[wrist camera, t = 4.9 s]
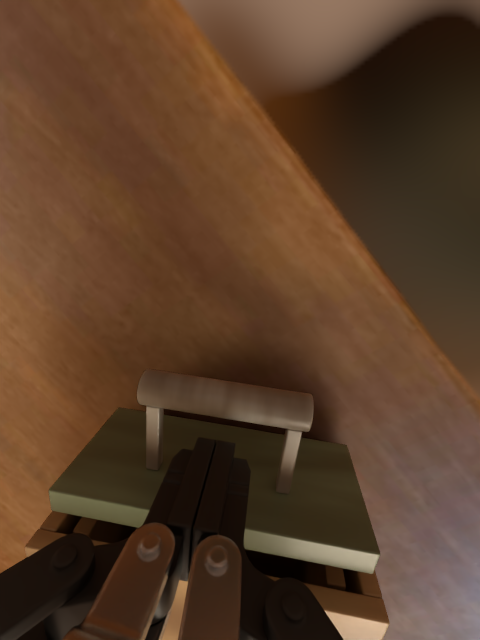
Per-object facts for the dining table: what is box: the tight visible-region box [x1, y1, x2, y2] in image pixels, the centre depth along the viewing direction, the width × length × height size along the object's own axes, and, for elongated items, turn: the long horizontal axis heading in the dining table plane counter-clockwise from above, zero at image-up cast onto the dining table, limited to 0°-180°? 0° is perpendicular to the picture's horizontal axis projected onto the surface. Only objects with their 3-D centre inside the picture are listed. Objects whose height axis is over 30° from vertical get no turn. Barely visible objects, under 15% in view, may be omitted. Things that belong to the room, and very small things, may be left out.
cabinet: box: [25, 511, 389, 640], centre depth 18 cm, size 16×15×8 cm
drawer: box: [49, 369, 380, 591], centre depth 16 cm, size 19×13×6 cm
